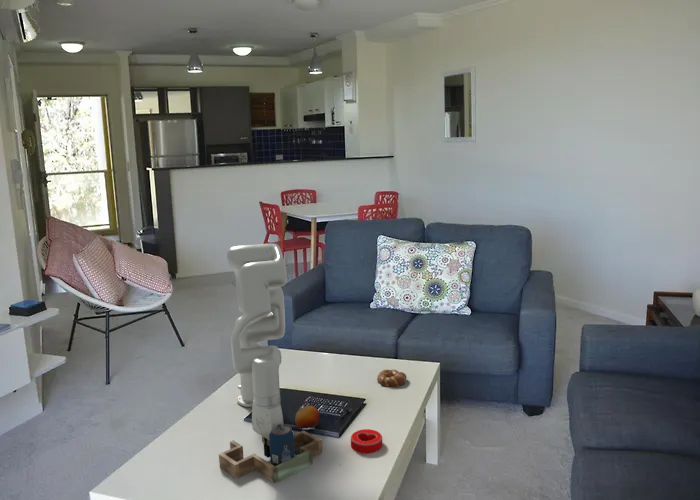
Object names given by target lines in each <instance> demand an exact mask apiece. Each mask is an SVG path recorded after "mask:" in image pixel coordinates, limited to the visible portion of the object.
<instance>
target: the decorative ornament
mask: <svg viewBox="0 0 700 500" xmlns="http://www.w3.org/2000/svg"><path fill="white" fill-rule="evenodd" d="M350 448H351V449H352V451H355V452H356V453H358V454H359V453H360V454H365V455H366V454H373V453H377V452H380V450H382V448H383V435H382V434H381V433H380V432H379V431H377V430H374V429H364V428H363V429H359V430H356V431H354V432H353V433H352V434H351V436H350Z"/></svg>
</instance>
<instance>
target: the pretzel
mask: <svg viewBox="0 0 700 500" xmlns="http://www.w3.org/2000/svg"><path fill="white" fill-rule="evenodd" d="M406 380H407V374H406V373H405V372H402V371H398V370H397V369H383V370H381V371H380V372H379V373H378V375H377V378H376V381H377V383H378V384H380V385H381V386H383V387H391V388H394V387H396V388H397V387H401V386H403V385H405V384H406Z"/></svg>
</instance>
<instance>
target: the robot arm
mask: <svg viewBox="0 0 700 500" xmlns="http://www.w3.org/2000/svg"><path fill="white" fill-rule="evenodd" d="M226 259H227V262H228V265H229V267H230V269H231V270H232V272H233V274H234V276H235V287H236V288H235V289H236V303H237V308H238V311H239V312H241V314H242V315H240V316H239V317H237V319H236V320H235V321H234V325H233V326H234V328H233V330H232V332H231V337H230V346H231V347H230V348H231V349H230V350H231V359H232V366H233V370H234V371H235V372H236V373H237V374H239V375H240V376H239V377H240V384H239V385H237V389H239V390H240V394H239V395H238V396H237V403H238V404H239V406H241V407H246V408H251V409H252V410H251V426H252V430H253V431H254V432H255V433H256V434H258V435H260V436H261V442H262V444H263V456H264V457H266V458H270V443H269V434H270V433H271V431H274V430H277V428H278V427H280V426H281V428H282V427H283V426H284V416H283V415H284V414H283V411H282V405H281V390H280V389H281V388H280V370H279V369H280V365H281V364H282V358H283V357H282V351H281V350H280V349H279V347H278V346H276V345H262V344H261V343H260V342H263V341H272V340H280V339H281V338H283V337H284V336H285V333H286V316H285V315H286V313H285V312H286V311H285V297H284V291H283V288H282V287H284V286H285V285H287V284H286V283H287V278H288V272H287V266H286V262H285V259H284V255H283V253H282V249H281V247H280V246H279V244H277V243H257V244H244V245H235V246H231V247H230V248H228V249H227V252H226Z"/></svg>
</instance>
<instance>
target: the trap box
mask: <svg viewBox="0 0 700 500" xmlns="http://www.w3.org/2000/svg"><path fill="white" fill-rule="evenodd" d="M229 448H230V449H228V450H226V451H223V452H221V453H219V454H218V460H219V461H218V462H219V468H221V469H222V470H223V471H225V472H227V474H229V475H230V476H232V477H234V478H235V479H238V478H239V477H242V476H244V475H246V474H247V473H249V472H253V471H254V470H255V471H256V472H257V473H259V474H261V475H262V476H264V477H265V478H267V479H268V480H270V481H271V482H273V483H275V484H276V483H278V482H280V481H281V480H283V479H285V478H287V477H289V476H292V475H294V474H295V473H297V472H299V471H301V470H303V469H305V468H306V467H309V466H311V465H312V464H313V457H315V456H317V455H318V454H322V452H323V442H322V439H321V438H319V437H317V436H315V435H314V434H311V433H309V432H308V431H305V430H301V431H299V432H297V433H295V434H294V453H295V457H293V458H291V459H289V460H287V461H285V462H283V463H281V464H279V465H277V466H274V465H272V464H271V462H269V461H267V460H265V459H264V458H262V457H261V456H259V455H257V453H252V454H250V455H249V456H246V457H244V446H243V444H242V445H241V444H240V443H239V442H237V441H235V440H231V441H229Z"/></svg>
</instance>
